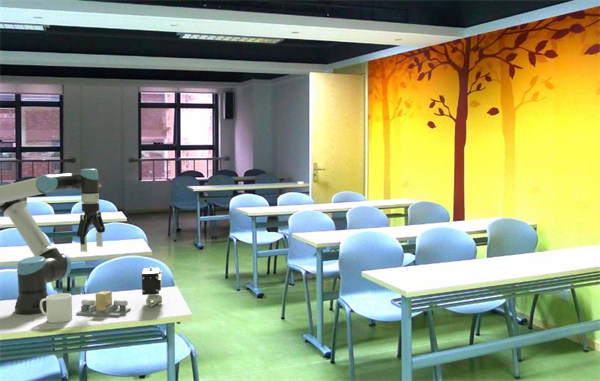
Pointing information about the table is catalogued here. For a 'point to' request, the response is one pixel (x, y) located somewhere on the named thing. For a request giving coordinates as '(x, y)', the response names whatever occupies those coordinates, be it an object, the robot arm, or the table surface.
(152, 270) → the ball valve
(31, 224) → the robot arm
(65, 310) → the mug
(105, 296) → the coupling block
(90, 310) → the shaft rig
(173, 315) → the table surface
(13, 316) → the table surface
